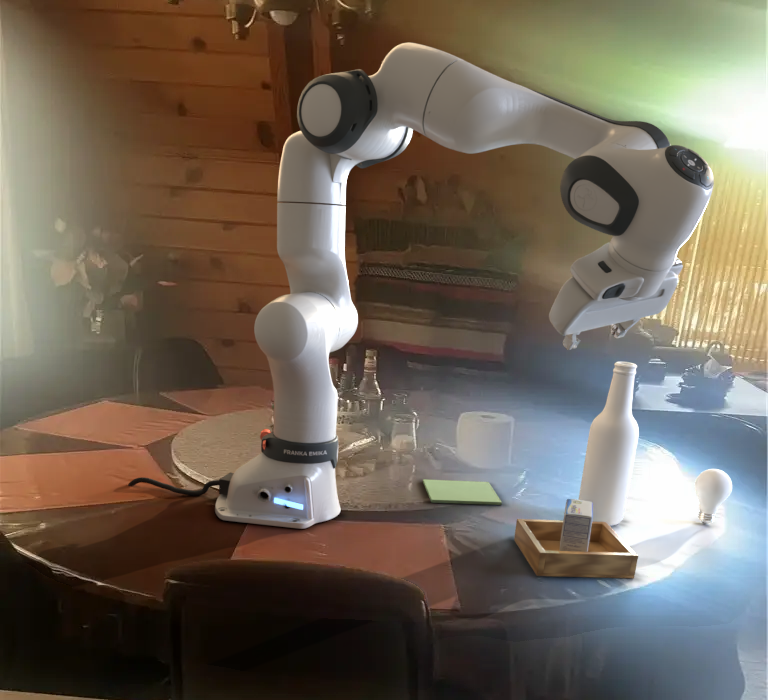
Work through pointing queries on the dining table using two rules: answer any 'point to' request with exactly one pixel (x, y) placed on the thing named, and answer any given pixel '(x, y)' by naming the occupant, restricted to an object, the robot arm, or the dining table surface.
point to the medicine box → (576, 525)
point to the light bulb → (711, 493)
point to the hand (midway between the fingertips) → (592, 340)
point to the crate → (601, 560)
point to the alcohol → (611, 450)
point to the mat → (461, 492)
